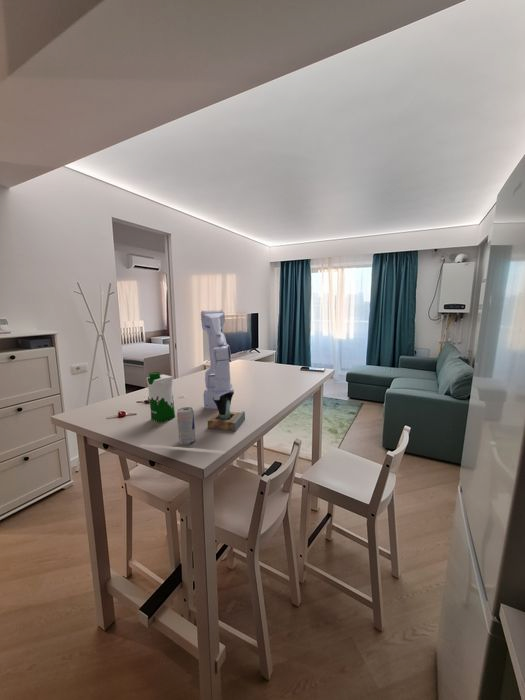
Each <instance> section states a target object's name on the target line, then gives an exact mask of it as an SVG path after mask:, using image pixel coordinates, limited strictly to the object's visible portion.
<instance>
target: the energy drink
mask: <svg viewBox="0 0 525 700" xmlns="http://www.w3.org/2000/svg"><path fill="white" fill-rule="evenodd" d="M194 414H195V413H194V409H193V408H192V407H190V406H187V407H186V406H185V407H180V408H179V409H178V408H177V412H176V416H177V417H176V418H177V428H178V430H177V431H178V441H179V444H180V445H183V446H186V445H187V446H188V445H191V444H193V443H195V442H196V441H197V440H196V430H195V429H196V426H195V415H194Z"/></svg>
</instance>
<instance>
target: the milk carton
mask: <svg viewBox="0 0 525 700" xmlns="http://www.w3.org/2000/svg"><path fill="white" fill-rule="evenodd" d="M145 380H146V383H147V388H148V389H147V390H148V396H149V405H150V407H149V408H150V419H153V420H152V421H154V420H155V421H154V422H156V421H157V422H156V423H158V422H159V424H162V423H161V422H163V423H164V421H166V422H168V421H171V420H173V419H174V418H176V413H175V411H176V410H175V404H174V403H175V401H174V391H173V380H174V377H173V376H171V375H168V374H164V373H163V374H161V372H159V371H153V372H149V377H146V379H145ZM170 419H171V420H170ZM167 420H168V421H167Z"/></svg>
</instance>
